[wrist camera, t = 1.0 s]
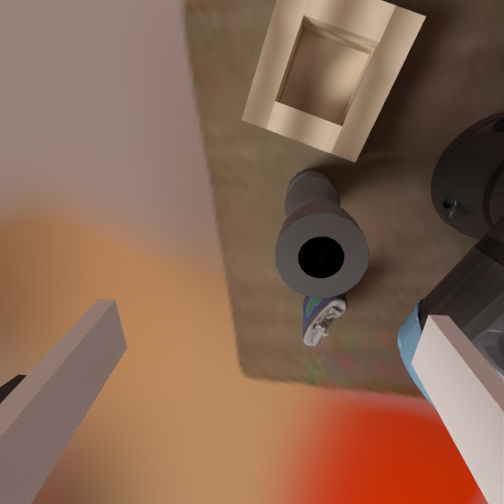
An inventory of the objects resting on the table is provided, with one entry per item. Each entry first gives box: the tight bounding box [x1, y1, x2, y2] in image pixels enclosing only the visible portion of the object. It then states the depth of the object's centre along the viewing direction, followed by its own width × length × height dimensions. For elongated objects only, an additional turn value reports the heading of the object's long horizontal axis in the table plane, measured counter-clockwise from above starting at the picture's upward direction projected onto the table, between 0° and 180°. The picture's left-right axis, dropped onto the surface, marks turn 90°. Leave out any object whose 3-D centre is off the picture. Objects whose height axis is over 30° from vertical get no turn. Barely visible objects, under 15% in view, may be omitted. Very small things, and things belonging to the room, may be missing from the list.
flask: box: [303, 293, 348, 346], centre depth 42 cm, size 9×3×11 cm, turn 153°
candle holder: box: [276, 169, 370, 298], centre depth 29 cm, size 6×6×25 cm
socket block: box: [242, 0, 426, 163], centre depth 32 cm, size 14×14×6 cm
